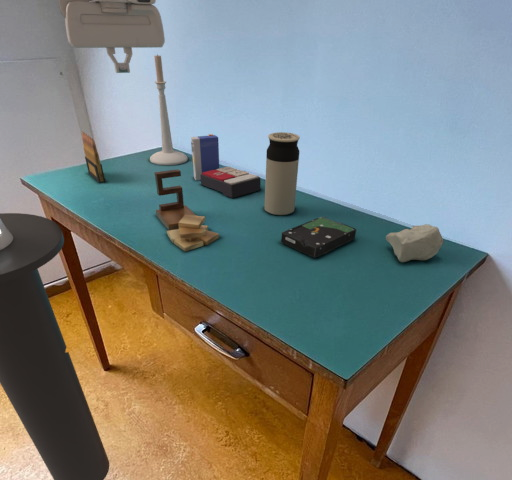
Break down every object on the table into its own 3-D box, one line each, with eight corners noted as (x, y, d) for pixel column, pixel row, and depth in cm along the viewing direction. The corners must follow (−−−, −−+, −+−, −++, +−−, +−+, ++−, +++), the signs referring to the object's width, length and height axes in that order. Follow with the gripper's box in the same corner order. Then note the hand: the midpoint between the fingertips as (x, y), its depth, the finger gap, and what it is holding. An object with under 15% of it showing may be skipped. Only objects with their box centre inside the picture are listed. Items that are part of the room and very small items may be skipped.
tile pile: (185, 252, 86) (183, 235, 83) (161, 235, 92) (159, 218, 89) (224, 239, 91) (223, 223, 88) (199, 224, 97) (198, 208, 95)
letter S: (168, 230, 94) (163, 185, 87) (156, 215, 101) (150, 172, 94) (200, 225, 97) (197, 181, 90) (186, 210, 104) (182, 168, 97)
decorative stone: (409, 232, 93) (442, 208, 84) (422, 268, 91) (457, 247, 82) (372, 235, 89) (402, 210, 80) (386, 273, 87) (418, 251, 78)
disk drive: (315, 260, 85) (355, 239, 93) (316, 248, 83) (357, 228, 91) (279, 243, 90) (320, 225, 98) (280, 232, 89) (322, 214, 97)
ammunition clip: (88, 173, 125) (78, 131, 117) (94, 172, 125) (84, 130, 118) (99, 183, 118) (89, 139, 110) (105, 182, 119) (96, 138, 111)
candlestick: (193, 157, 141) (186, 53, 122) (175, 167, 132) (164, 56, 112) (162, 152, 144) (150, 51, 125) (142, 162, 135) (126, 53, 116)
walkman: (216, 175, 126) (214, 133, 119) (219, 177, 125) (218, 135, 117) (192, 177, 124) (189, 135, 116) (195, 180, 122) (192, 137, 114)
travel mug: (268, 216, 102) (271, 140, 90) (261, 205, 108) (263, 132, 96) (297, 215, 103) (305, 139, 92) (289, 203, 109) (295, 131, 98)
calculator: (228, 165, 123) (261, 174, 114) (228, 179, 125) (261, 189, 116) (199, 171, 117) (231, 182, 108) (200, 186, 120) (232, 198, 111)
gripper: (57, -12, 75) (76, 75, 84) (162, -7, 82) (170, 73, 91) (53, -11, 79) (72, 72, 88) (154, -7, 87) (162, 70, 96)
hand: (122, 72), depth 90 cm, fingers closed
